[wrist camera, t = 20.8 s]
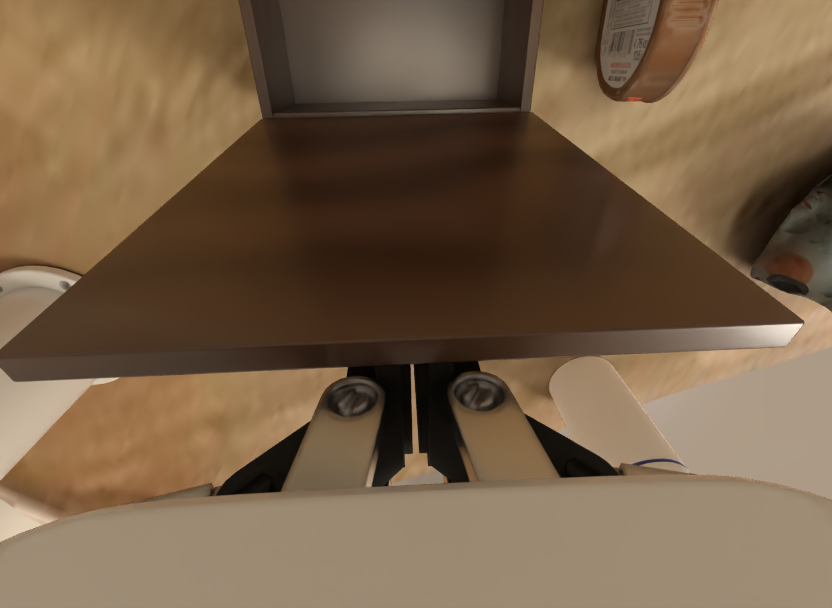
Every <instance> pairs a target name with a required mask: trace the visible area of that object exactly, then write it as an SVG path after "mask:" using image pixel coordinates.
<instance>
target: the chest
mask: <svg viewBox="0 0 832 608" xmlns="http://www.w3.org/2000/svg"><path fill="white" fill-rule="evenodd" d="M543 3H544V0H239V4H240V9H241V14H242V19H243V24H244V29H245V34H246V38H247V43H248V48H249V53H250V58H251V63H252V68H253V73H254V78H255V83H256V88H257V93H258V97H259V102H260V107H261V112H262V117H263V119H294V118H333V117H373V116H412V115H451V114H490V113H529V112H530V109H531V101H532V93H533V85H534V77H535V68H536V60H537V52H538V44H539V35H540V27H541V19H542V11H543Z"/></svg>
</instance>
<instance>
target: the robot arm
mask: <svg viewBox="0 0 832 608" xmlns="http://www.w3.org/2000/svg"><path fill="white" fill-rule="evenodd" d="M80 278H81V276H79V275H77V274H74V273H71V272H68V271H65V270H62V269H57V268H52V267H47V266H32V265H29V266H21V267H15V268H12V269H9V270H6V271H3V272H1V273H0V349H1V348H2V347H3V346H4V345H5V344H7V343H8V342H9V341H10V340H11V339H12V338H13V337H15V336H16V335H17V334H18V333H19V332H20V331H21V330H22V329H24V328H25V327H26V326H27V325H28V324H29V323H30V322H32V321H33V320H34V319H35V318H36V317H37V316H38V315H39V314H41V313H42V312H43V311H44V310H45V309H46V308H47V307H49V306H50V305H51V304H52V303H53V302H54V301H55V300H56V299H58V298H59V297H60V296H61V295H62V294H63V293H64V292H66V291H67V290H68V289H69V288H70V287H71V286H72V285H73V284H75V283H76V282H77V281H78V280H79V279H80ZM414 377H415V393H416V409H417V425H418V441H419V453H427V457H428V466H432V467H434V468H435V469H436V470H438V471H439V472H440V473H442V474H443V475H444V483H443V484H422V485H404V486H391V478H392V477H393V476H394V475H395V474H397V473H398V472H399V471H400V470H401V469H402V468H403V467H405V455H404V454H413V445H412V405H411V367H410V364H403V365H382V366H360V367H348V371H347V377H346V378H342V379H340V380H338V381H336V382H334V383H332V384H331V385H330V386H329V387H328V388H326V390H325V391H324V393H323V394H322V396H321V398H320V401H319V403H318V405H317V408H316V410H315V412H314V415H313V417H312V419H311V421H310V422H308V423H307V424H305V425H304V426H302V427H301V428H300V429H298V430H297V431H295V432H294V433H292V434H291V435H289V436H288V437H287V438H285V439H284V440H282V441H281V442H279V443H278V444H276V445H275V446H273V447H272V448H271V449H269V450H268V451H266V452H265V453H263V454H262V455H260V456H259V457H258V458H256V459H255V460H253V461H252V462H250V463H249V464H247V465H246V466H244V467H243V468H242V469H240V470H239V471H237V472H236V473H235V474H233V475H232V476H231V477H230V478H229V479H228V480H226V481H225V483H224V484H223V485H222V486H219V487H215V488H214V487H213V485H212V483H209V484H205V485H201V486H197V487H193V488H188V489H184V490H180V491H176V492H172V493H168V494H164V495H160V496H156V497H152V498H148V499H144V500H140V501H136V502H132V503H128V504H124V505H120V506H114V507H109V508H103V509H97V510H93V511H89V512H85V513H81V514H78V515H74V516H70V517H66V518H63V519H59V520H56V521H53V522H50V523H47V524H45V525H42V526H39V527H36V528H34V529H31V530H28V531H25V532H22V533H20V534H18V535H16V536H13V537H11V538H8V539H6V540H4V541H2V542H0V608H832V500H830V499H827V498H825V497H822V496H819V495H816V494H813V493H810V492H806V491H802V490H799V489H795V488H791V487H788V486H784V485H780V484H776V483H770V482H764V481H758V480H752V479H746V478H741V477H729V476H716V475H697V474H691V473H684V472H677V471H671V470H664V469H658V468H651V467H645V466H638V465H631V464H625V463H621V464H620V466H619V468H616V467H612V466H611V465H610V464H609V463H608V462H607V461H605V460H604V459H603V458H601V457H600V456H598V455H597V454H595V453H593V452H591V451H590V450H588V449H586V448H584V447H583V446H581V445H579V444H577V443H575V442H574V441H572V440H570V439H568V438H566V437H565V436H563V435H561V434H559V433H558V432H556V431H554V430H552V429H551V428H549V427H547V426H545V425H544V424H542V423H540V422H538V421H537V420H535V419H533V418H531V417H529V416H528V415H526V414H524V413H523V411H522V410H521V408H520V406H519V404H518V403H517V401H516V399H515V397H514V396H513V394H512V392H511V390H510V389H509V387H508V386H507V385H506V383H505V382H504V381H503V380H501V379H500V378H498V377H497V376H495V375H492V374H490V373H486V372H481V371H480V367H479V364H478V361H469V362H447V363H425V364H414ZM116 379H118V378H98V379H76V380H54V381H32V382H14V381H12V380H11V379H10V377H9V376H8V375H7V374H6V373H5V372H4V371H3V370H2V369H1V368H0V480H1V479H2V478H3V477H4V476H5V475H6V474H7V473H8V472H9V471H10V470H11V469H12V468H13V467H14V466H15V465H16V463H17V462H18V461H19V460H20V459H21V458H22V457H23V456H24V455H25V454H26V453H27V452H28V451H29V450H30V449H31V448H32V447H33V446H34V445H35V443H36V442H37V441H38V440H39V439H40V438H41V437H42V436H43V435H44V434H45V433H46V432H47V431H48V430H49V429H50V428H51V427H52V426H53V424H54V423H55V422H56V421H57V420H58V419H59V418H60V417H61V416H62V415H63V414H64V413H65V412H66V411H67V410H68V409H69V408H70V407H71V406H72V404H73V403H74V402H75V401H76V400H77V399H78V398H79V397H80V396H81V395H82V394H83V393H84V392H85V391H86V390H87V389H88V388H89V387H90V385H96V384H104V383H108V382H111V381H114V380H116Z"/></svg>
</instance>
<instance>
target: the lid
mask: <svg viewBox="0 0 832 608" xmlns="http://www.w3.org/2000/svg"><path fill="white" fill-rule="evenodd" d="M803 324H804V321H803V320H802V319H801V318H800V317H798V316H797V315H796V314H794V313H793V312H792V311H790V310H789V309H788V308H787V307H785V306H784V305H783V304H781V303H780V302H779V301H777V300H776V299H775V298H773V297H772V296H771V295H770V294H768V293H767V292H766V291H764V290H763V289H762V288H760V287H759V286H758V285H757V284H755V283H754V282H753V281H751V280H750V279H749V278H747V277H746V276H745V275H744V274H742V273H741V272H740V271H738V270H737V269H736V268H734V267H733V266H732V265H731V264H729V263H728V262H727V261H725V260H724V259H723V258H721V257H720V256H719V255H717V254H716V253H715V252H714V251H712V250H711V249H710V248H708V247H707V246H706V245H704V244H703V243H702V242H701V241H699V240H698V239H697V238H695V237H694V236H693V235H691V234H690V233H689V232H688V231H686V230H685V229H684V228H682V227H681V226H680V225H678V224H677V223H676V222H675V221H673V220H672V219H671V218H669V217H668V216H667V215H665V214H664V213H663V212H661V211H660V210H659V209H658V208H656V207H655V206H654V205H652V204H651V203H650V202H648V201H647V200H646V199H645V198H643V197H642V196H641V195H639V194H638V193H637V192H635V191H634V190H633V189H632V188H630V187H629V186H628V185H626V184H625V183H624V182H622V181H621V180H620V179H619V178H617V177H616V176H615V175H613V174H612V173H611V172H609V171H608V170H607V169H605V168H604V167H603V166H602V165H600V164H599V163H598V162H596V161H595V160H594V159H592V158H591V157H590V156H589V155H587V154H586V153H585V152H583V151H582V150H581V149H579V148H578V147H577V146H576V145H574V144H573V143H572V142H570V141H569V140H568V139H566V138H565V137H564V136H562V135H561V134H560V133H559V132H557V131H556V130H555V129H553V128H552V127H551V126H549V125H548V124H547V123H546V122H544V121H543V120H542V119H540V118H539V117H538V116H536V115H535V114H534V113H532V112H529V113H490V114H451V115H412V116H373V117H333V118H294V119H261V120H259V121H258V122H257V123H256V124H255V125H254V126H253V127H251V128H250V129H249V130H248V131H247V132H246V133H245V134H244V135H242V136H241V137H240V138H239V139H238V140H237V141H236V142H234V143H233V144H232V145H231V146H230V147H229V148H228V149H227V150H225V151H224V152H223V153H222V154H221V155H220V156H219V157H217V158H216V159H215V160H214V161H213V162H212V163H211V164H210V165H208V166H207V167H206V168H205V169H204V170H203V171H202V172H200V173H199V174H198V175H197V176H196V177H195V178H194V179H193V180H191V181H190V182H189V183H188V184H187V185H186V186H185V187H183V188H182V189H181V190H180V191H179V192H178V193H177V194H176V195H174V196H173V197H172V198H171V199H170V200H169V201H168V202H166V203H165V204H164V205H163V206H162V207H161V208H160V209H159V210H157V211H156V212H155V213H154V214H153V215H152V216H151V217H149V218H148V219H147V220H146V221H145V222H144V223H143V224H142V225H140V226H139V227H138V228H137V229H136V230H135V231H134V232H132V233H131V234H130V235H129V236H128V237H127V238H126V239H125V240H123V241H122V242H121V243H120V244H119V245H118V246H117V247H115V248H114V249H113V250H112V251H111V252H110V253H109V254H108V255H106V256H105V257H104V258H103V259H102V260H101V261H100V262H98V263H97V264H96V265H95V266H94V267H93V268H92V269H91V270H89V271H88V272H87V273H86V274H85V275H84V276H83V277H81V278H80V279H79V280H78V281H77V282H76V283H75V284H73V285H72V286H71V287H70V288H69V289H68V290H67V291H66V292H64V293H63V294H62V295H61V296H60V297H59V298H58V299H56V300H55V301H54V302H53V303H52V304H51V305H50V306H49V307H47V308H46V309H45V310H44V311H43V312H42V313H41V314H39V315H38V316H37V317H36V318H35V319H34V320H33V321H32V322H30V323H29V324H28V325H27V326H26V327H25V328H24V329H22V330H21V331H20V332H19V333H18V334H17V335H16V336H15V337H13V338H12V339H11V340H10V341H9V342H8V343H7V344H5V345H4V346H3V347H2V348H1V349H0V368H1V369H2V370H3V371H4V372H5V373H6V374H7V375H8V376H9V377H10V379H11V380H12V381H14V382H32V381H54V380H76V379H98V378H120V377H141V376H163V375H185V374H207V373H229V372H251V371H272V370H294V369H316V368H338V367H360V366H382V365H403V364H425V363H447V362H469V361H491V360H512V359H534V358H556V357H578V356H600V355H622V354H643V353H665V352H687V351H709V350H731V349H752V348H774V347H785V346H787V345H788V344H789V342H790V341H791V340H792V339H793V337H794V336H795V335H796V333H797V332H798V331H799V330H800V328H801V327H802V326H803Z"/></svg>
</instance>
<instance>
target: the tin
mask: <svg viewBox="0 0 832 608" xmlns="http://www.w3.org/2000/svg"><path fill="white" fill-rule="evenodd" d="M718 1H719V0H605V3H604V8H603V14H602V19H601V25H600V30H599V37H598V45H597V76H598V81H599V85H600V88H601V90H602V91H603V93H604V94H605V95H606V96H608V97H609V98H610V99H612V100H614V101H624V102H625V101H642V102H645V103H653V102H657V101H659V100H661V99H663V98H664V97H665V96H667V95H668V94H669V93H670V92H672V91H673V90H674V89H675V88H676V87H677V86H678V84H679V83H680V82H681V80H682V79H683V78H684V77H685V75H686V73H687V72H688V71H689V69H690V67H691V66H692V64H693V62H694V61H695V59H696V57H697V55H698V53H699V51H700V49H701V48H702V45H703V43H704V41H705V38H706V36H707V34H708V31H709V28H710V26H711V23H712V20H713V17H714V14H715V11H716V8H717V5H718Z"/></svg>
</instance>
